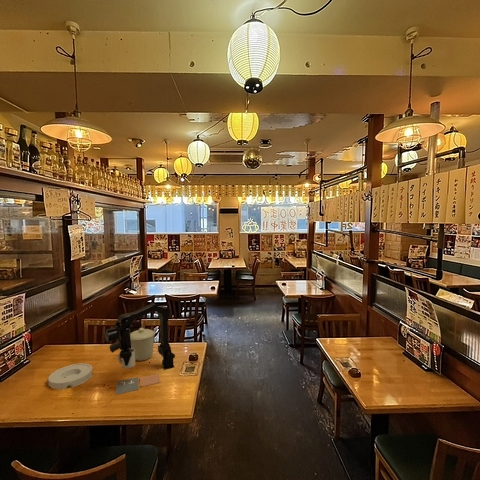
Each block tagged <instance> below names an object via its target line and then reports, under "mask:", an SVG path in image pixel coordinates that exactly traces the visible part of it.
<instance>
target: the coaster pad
mask: <svg viewBox="0 0 480 480" xmlns="http://www.w3.org/2000/svg"><path fill="white" fill-rule="evenodd" d="M139 381H140V382H139V384H140V385H139V386H140V388H145V387H149V386H154V385H158V384H161V379H160V374H159V373H157V374H152V375H147V376H142V377H139Z"/></svg>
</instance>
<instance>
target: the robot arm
mask: <svg viewBox="0 0 480 480" xmlns="http://www.w3.org/2000/svg"><path fill="white" fill-rule="evenodd" d="M152 312H156V314H157V316H158V319H159V323H160V344H159V345H157V352H158V354H159V355H160V356H161V357H162V360H161V364H162V365H161V366H162V368H163V370H169V369H174V368H175V365H174V362H175V361H174V359H175V357H176V354H175V353H173V352H172V347H171V345H170V343H169V319H170V317H171V310H170V308H169V307H166V306H164V305H163V306H161V305H160V306H159V305H157V303H156V304H155V303H149V304H148V305H145V306H144V307H141V308H139V309H137V310H134V311H133V312H126V313H122V314H120V315H119V316H118V318H117V320H116V322H115V324H114V326H113V327H112V328H107V329H106V330H105V334H104V338H105V341H106V342H107V343H109V342H110V343H111V342H113V341H115V340H118V341H116V342H114V343H111V344H110V345H109V351H110V352H111V353H114V352H116V351H117V350H120V351H119V354H120V358H121V359H122V358H123V360H124V363H125V366H127V365H128V363H129V360H130V358H131V356H132V350H131V349H129V348H131V338H130V334H131V329H133V328H135V327H134V325H132V324H133V323H134V321H136V320H137V319H139V318H142V317H143V316H145V315H147V314H150V313H152Z"/></svg>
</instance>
